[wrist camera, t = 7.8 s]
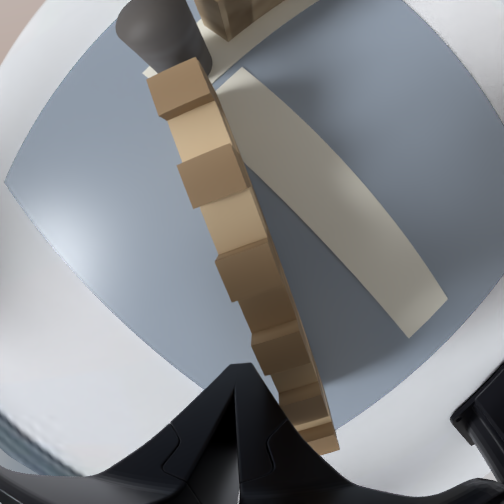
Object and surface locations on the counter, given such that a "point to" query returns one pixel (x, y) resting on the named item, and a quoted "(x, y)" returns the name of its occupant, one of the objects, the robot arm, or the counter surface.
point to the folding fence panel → (243, 245)
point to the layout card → (285, 192)
